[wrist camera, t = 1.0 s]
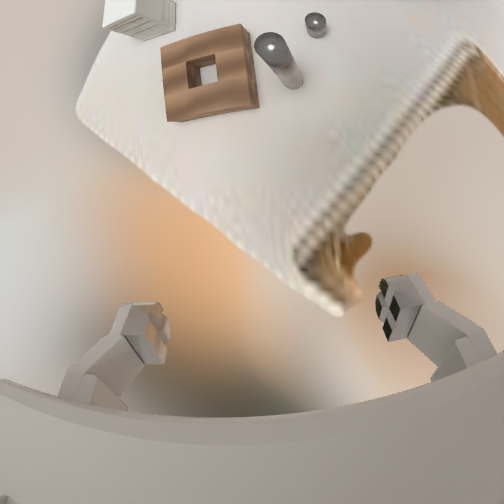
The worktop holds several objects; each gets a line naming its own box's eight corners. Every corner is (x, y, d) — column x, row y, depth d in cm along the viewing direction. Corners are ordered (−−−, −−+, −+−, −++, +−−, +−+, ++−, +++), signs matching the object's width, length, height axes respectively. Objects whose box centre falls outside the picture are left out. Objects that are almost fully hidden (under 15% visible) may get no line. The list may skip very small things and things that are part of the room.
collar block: (175, 53, 38) (160, 47, 34) (249, 34, 34) (240, 23, 30) (182, 122, 43) (167, 121, 39) (259, 107, 39) (250, 104, 35)
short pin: (306, 24, 31) (303, 13, 27) (324, 23, 30) (323, 12, 26) (309, 38, 32) (306, 28, 28) (327, 37, 32) (327, 27, 28)
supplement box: (145, 14, 35) (105, -3, 24) (176, 3, 33) (138, -20, 22) (143, 42, 38) (100, 29, 27) (175, 31, 36) (134, 12, 25)
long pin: (282, 73, 36) (252, 34, 20) (301, 71, 35) (283, 30, 19) (285, 90, 37) (256, 60, 21) (304, 88, 36) (287, 55, 20)
